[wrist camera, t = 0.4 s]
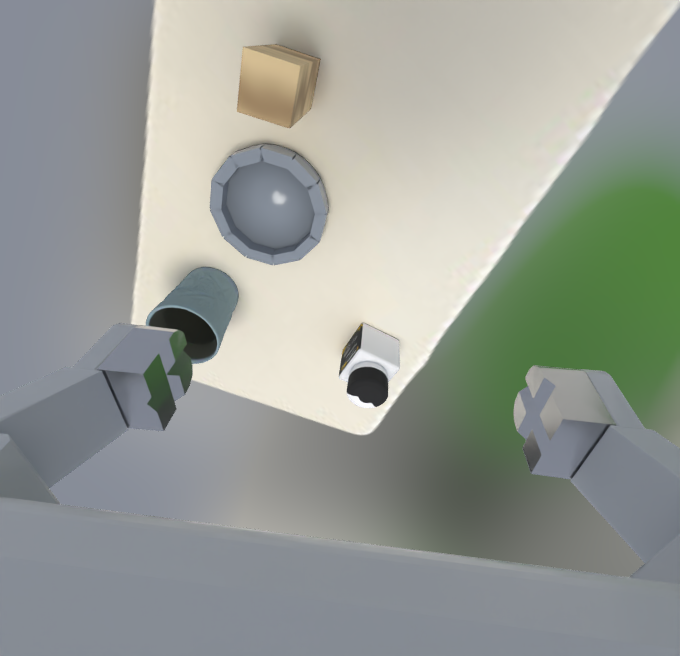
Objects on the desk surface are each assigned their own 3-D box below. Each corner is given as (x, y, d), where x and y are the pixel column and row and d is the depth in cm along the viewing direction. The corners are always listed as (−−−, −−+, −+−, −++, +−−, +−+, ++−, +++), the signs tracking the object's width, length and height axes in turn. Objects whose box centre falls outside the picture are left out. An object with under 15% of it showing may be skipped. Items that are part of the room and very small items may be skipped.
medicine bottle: (362, 321, 63) (357, 372, 54) (399, 339, 65) (401, 392, 55) (342, 350, 67) (334, 402, 58) (377, 366, 69) (375, 420, 59)
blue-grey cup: (191, 251, 59) (152, 293, 49) (253, 281, 61) (228, 327, 51) (176, 300, 65) (139, 346, 55) (234, 326, 67) (207, 374, 57)
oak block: (276, 44, 42) (242, 46, 33) (320, 59, 43) (300, 65, 33) (269, 95, 45) (236, 111, 36) (310, 109, 46) (289, 128, 36)
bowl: (223, 128, 48) (214, 132, 46) (340, 164, 49) (337, 171, 47) (214, 237, 57) (207, 246, 55) (314, 266, 58) (310, 276, 56)
